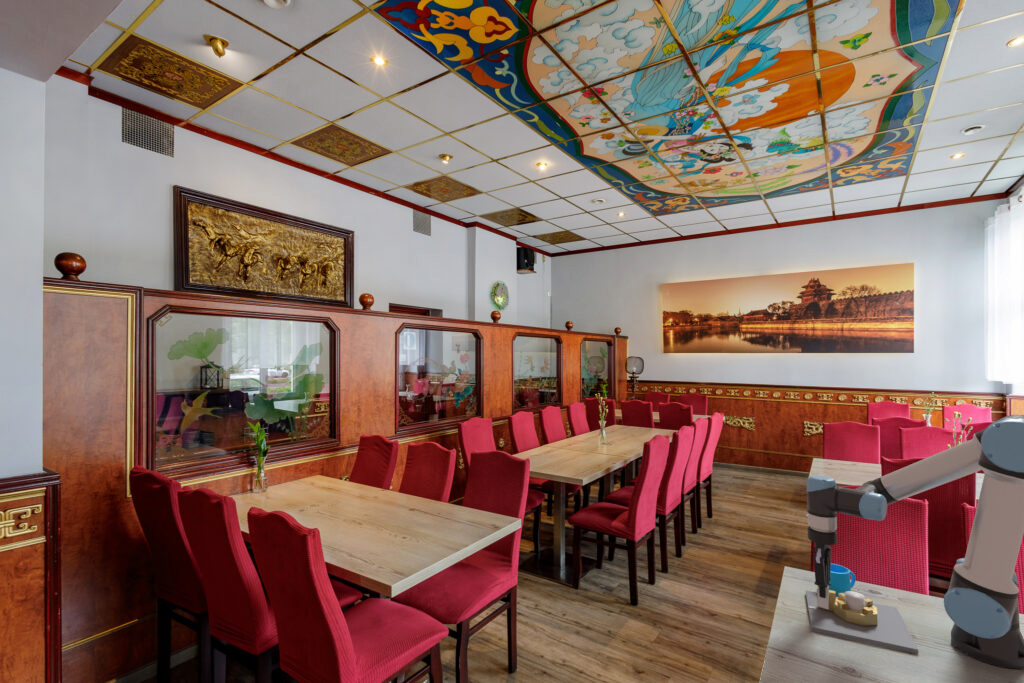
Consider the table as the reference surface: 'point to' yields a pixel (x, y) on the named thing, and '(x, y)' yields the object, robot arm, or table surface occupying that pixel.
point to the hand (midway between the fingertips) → (823, 607)
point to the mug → (841, 579)
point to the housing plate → (884, 634)
